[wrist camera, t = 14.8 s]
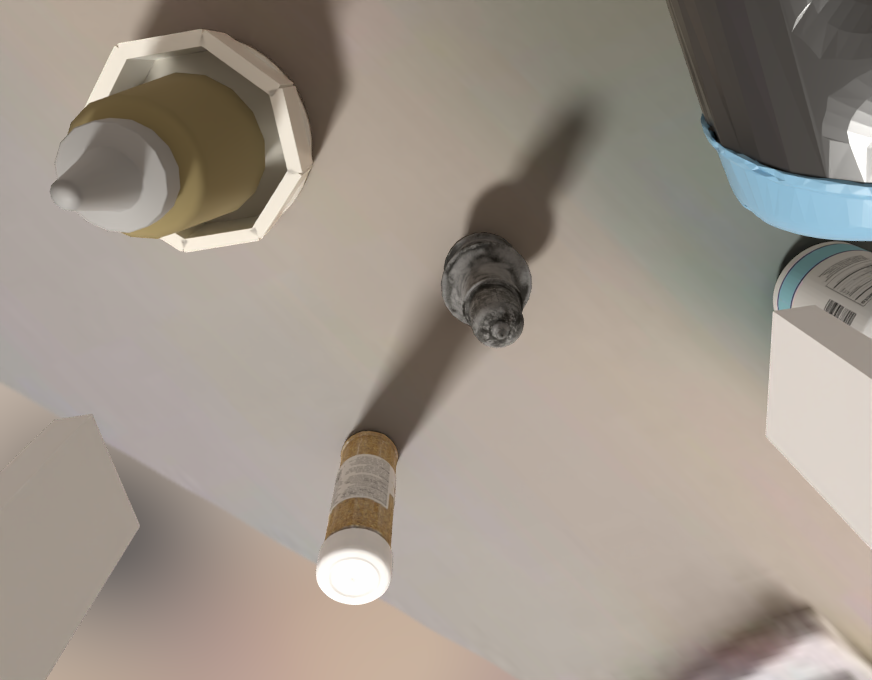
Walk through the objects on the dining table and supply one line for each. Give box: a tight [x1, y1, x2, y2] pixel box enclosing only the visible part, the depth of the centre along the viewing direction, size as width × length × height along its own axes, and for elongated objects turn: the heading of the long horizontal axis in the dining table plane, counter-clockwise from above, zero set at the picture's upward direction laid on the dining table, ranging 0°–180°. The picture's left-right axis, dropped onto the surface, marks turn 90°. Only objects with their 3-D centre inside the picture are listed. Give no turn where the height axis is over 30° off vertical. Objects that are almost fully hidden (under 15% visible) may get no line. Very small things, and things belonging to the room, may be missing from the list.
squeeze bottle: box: [50, 72, 265, 239], centre depth 31 cm, size 8×8×18 cm
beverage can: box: [773, 241, 872, 339], centre depth 40 cm, size 7×7×12 cm
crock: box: [85, 29, 313, 252], centre depth 38 cm, size 12×12×5 cm
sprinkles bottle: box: [316, 431, 398, 605], centre depth 44 cm, size 5×5×13 cm
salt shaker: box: [441, 233, 532, 348], centre depth 39 cm, size 6×6×12 cm
